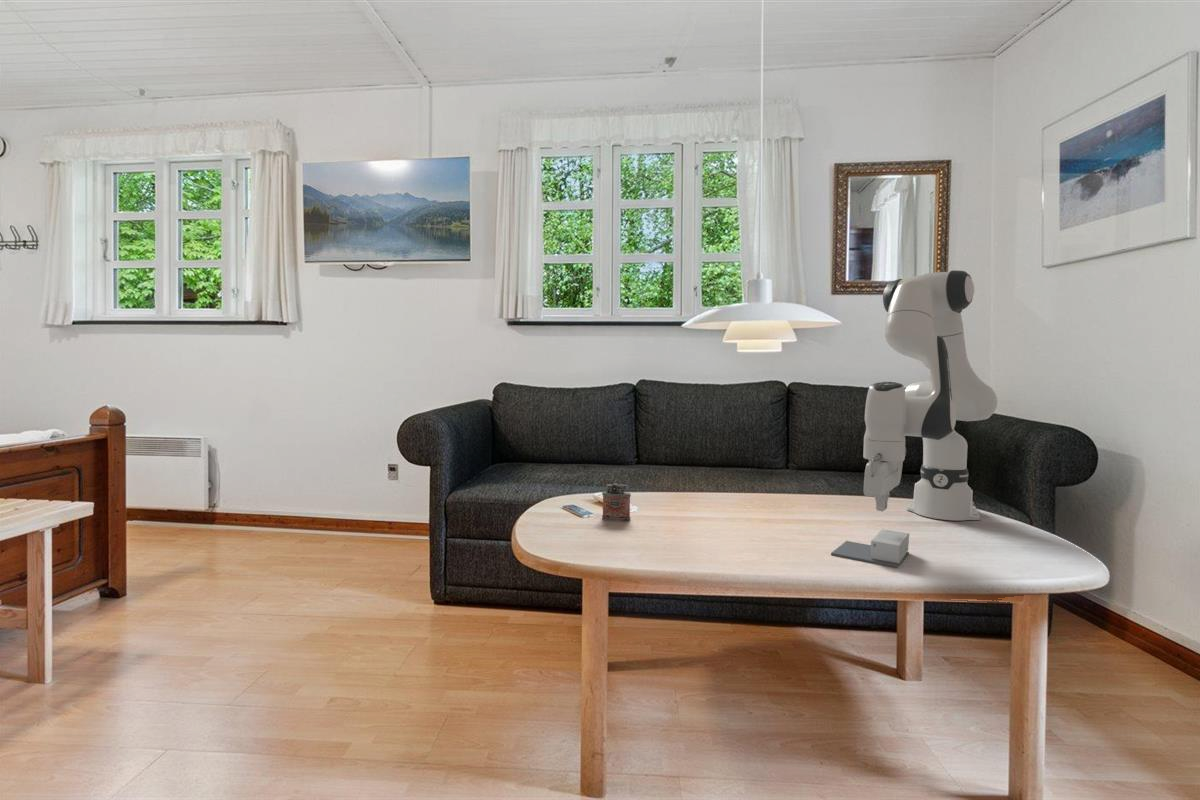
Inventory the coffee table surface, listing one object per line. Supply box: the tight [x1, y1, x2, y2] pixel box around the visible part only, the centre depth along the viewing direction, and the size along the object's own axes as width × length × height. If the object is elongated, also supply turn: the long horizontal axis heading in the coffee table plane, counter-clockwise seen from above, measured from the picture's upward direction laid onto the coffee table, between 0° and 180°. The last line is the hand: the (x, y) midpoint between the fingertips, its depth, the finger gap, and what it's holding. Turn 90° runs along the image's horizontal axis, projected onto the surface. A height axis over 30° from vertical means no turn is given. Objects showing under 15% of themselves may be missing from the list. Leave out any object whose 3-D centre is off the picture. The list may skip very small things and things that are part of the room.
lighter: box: [601, 483, 632, 522], centre depth 170 cm, size 8×3×10 cm, turn 73°
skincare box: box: [870, 528, 910, 564], centre depth 139 cm, size 6×4×12 cm
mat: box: [830, 540, 910, 569], centre depth 141 cm, size 12×14×1 cm
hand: (881, 509), depth 144 cm, fingers closed
